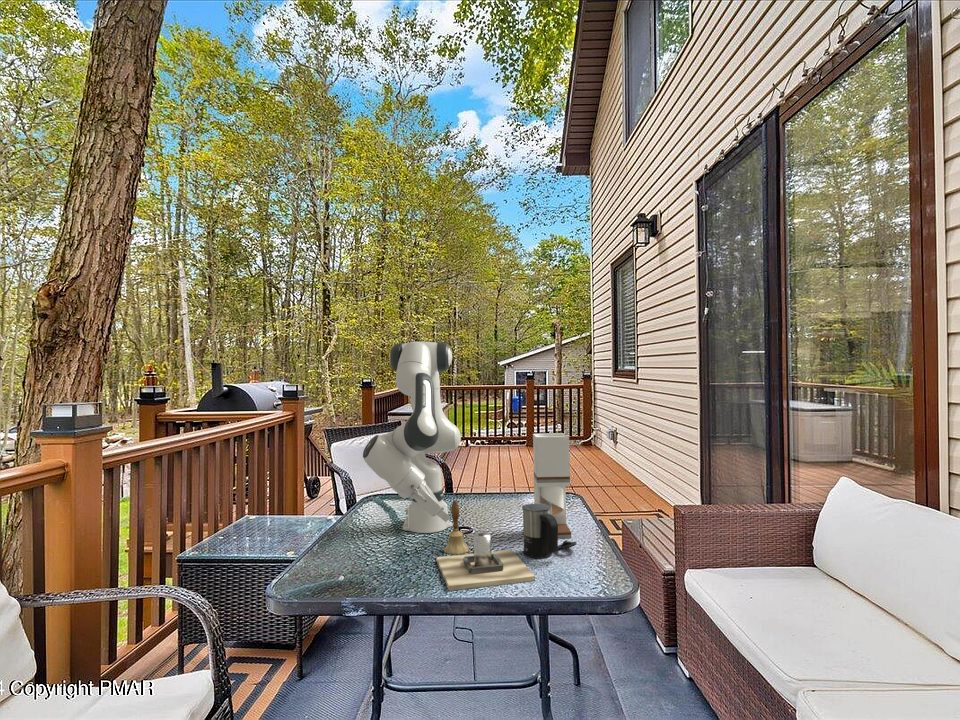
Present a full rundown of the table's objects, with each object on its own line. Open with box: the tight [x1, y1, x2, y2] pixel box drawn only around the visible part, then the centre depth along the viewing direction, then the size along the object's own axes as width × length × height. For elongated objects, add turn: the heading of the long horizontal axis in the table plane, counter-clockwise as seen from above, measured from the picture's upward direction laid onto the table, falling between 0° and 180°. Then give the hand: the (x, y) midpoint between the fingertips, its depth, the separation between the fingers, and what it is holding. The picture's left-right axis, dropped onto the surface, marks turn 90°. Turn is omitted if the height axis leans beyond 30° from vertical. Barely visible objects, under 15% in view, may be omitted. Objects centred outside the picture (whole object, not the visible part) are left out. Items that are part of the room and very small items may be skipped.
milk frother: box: [521, 503, 577, 559], centre depth 158 cm, size 14×16×15 cm
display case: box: [532, 432, 572, 539], centre depth 178 cm, size 11×11×35 cm
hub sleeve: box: [473, 531, 492, 567], centre depth 144 cm, size 5×5×9 cm
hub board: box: [436, 549, 536, 591], centre depth 144 cm, size 22×24×3 cm
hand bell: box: [443, 500, 470, 556], centre depth 162 cm, size 8×8×16 cm
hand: (444, 514), depth 142 cm, fingers open, 8 cm apart
